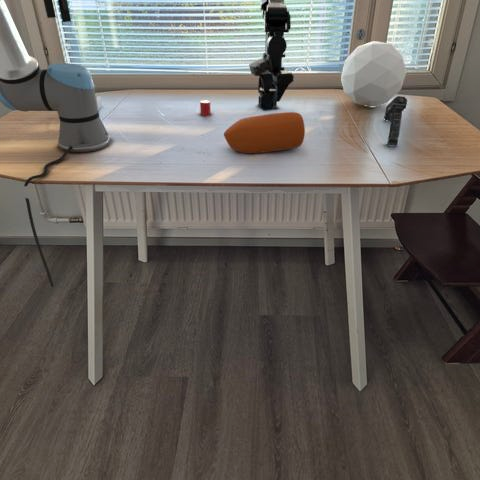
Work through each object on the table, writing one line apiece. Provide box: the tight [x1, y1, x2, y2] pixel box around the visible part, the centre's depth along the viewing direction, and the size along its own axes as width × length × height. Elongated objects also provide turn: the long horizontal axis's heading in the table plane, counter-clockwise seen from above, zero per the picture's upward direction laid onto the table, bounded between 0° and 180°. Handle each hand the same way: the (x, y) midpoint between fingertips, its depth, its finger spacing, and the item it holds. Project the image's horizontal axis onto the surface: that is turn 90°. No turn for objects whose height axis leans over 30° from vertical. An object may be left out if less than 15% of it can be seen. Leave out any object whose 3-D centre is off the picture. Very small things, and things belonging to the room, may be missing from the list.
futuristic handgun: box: [383, 95, 408, 147], centre depth 138 cm, size 4×29×15 cm, turn 164°
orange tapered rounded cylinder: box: [223, 111, 306, 154], centre depth 125 cm, size 12×11×25 cm
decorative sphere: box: [340, 40, 408, 109], centre depth 161 cm, size 24×25×25 cm
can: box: [199, 99, 211, 117], centre depth 154 cm, size 4×4×5 cm
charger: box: [96, 94, 103, 111], centre depth 158 cm, size 5×9×15 cm
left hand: (59, 19), depth 139 cm, fingers open, 13 cm apart
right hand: (271, 97), depth 144 cm, fingers open, 9 cm apart
